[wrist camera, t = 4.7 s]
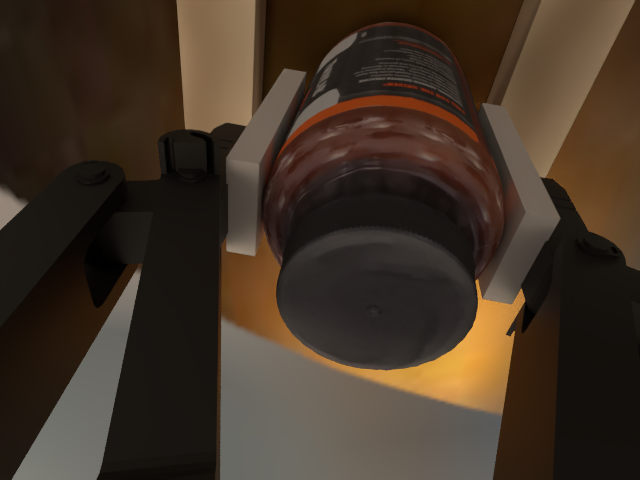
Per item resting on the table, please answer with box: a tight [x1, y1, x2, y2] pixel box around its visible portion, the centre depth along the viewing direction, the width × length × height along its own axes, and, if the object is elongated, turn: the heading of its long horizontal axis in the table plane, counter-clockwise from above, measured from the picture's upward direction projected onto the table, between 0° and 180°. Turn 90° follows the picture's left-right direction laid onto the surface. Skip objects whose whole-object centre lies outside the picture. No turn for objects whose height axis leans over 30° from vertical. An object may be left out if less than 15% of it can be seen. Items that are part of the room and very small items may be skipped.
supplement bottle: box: [262, 22, 505, 370], centre depth 13 cm, size 6×6×11 cm
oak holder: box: [177, 0, 635, 178], centre depth 19 cm, size 16×14×2 cm
